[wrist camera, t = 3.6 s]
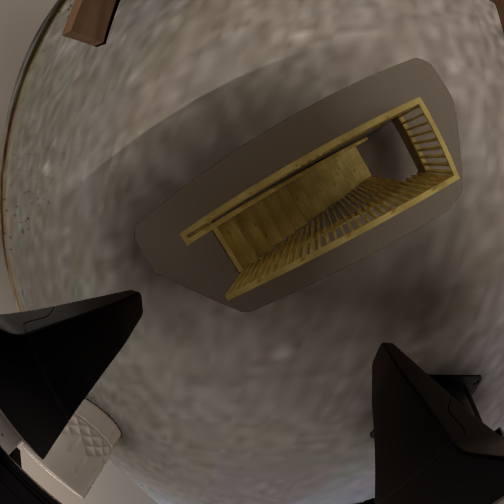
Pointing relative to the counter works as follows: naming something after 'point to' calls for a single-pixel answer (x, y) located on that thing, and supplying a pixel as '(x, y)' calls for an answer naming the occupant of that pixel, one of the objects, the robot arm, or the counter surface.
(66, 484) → the white cup
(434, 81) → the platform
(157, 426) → the counter surface
